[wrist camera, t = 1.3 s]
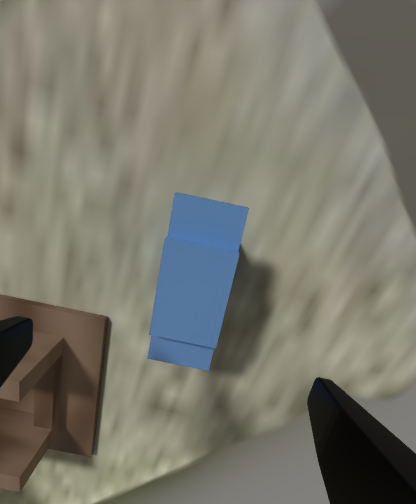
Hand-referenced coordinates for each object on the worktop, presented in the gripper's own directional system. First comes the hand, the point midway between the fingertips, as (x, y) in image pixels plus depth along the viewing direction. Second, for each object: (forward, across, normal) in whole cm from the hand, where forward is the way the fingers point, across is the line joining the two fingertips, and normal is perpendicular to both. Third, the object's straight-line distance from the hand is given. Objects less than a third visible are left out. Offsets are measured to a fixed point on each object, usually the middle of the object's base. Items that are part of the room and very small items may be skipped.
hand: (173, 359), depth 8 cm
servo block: (+10, 0, 0) cm, 10 cm away
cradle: (+10, +13, +13) cm, 21 cm away
